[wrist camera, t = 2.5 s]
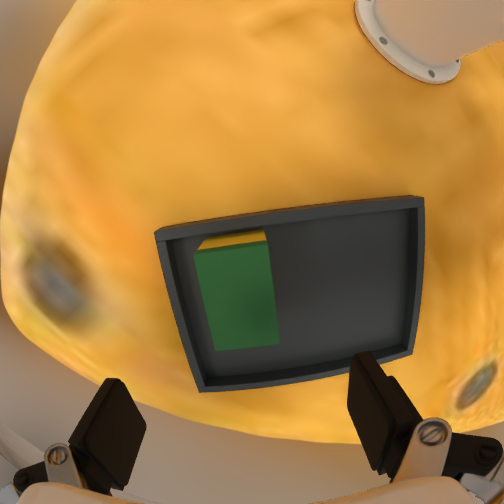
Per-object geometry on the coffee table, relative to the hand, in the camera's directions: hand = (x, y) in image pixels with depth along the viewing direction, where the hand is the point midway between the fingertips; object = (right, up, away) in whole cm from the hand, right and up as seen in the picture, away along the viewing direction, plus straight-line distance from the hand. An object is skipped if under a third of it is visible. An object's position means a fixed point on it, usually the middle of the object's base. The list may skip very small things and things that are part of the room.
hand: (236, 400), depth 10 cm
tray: (+5, +2, +13) cm, 15 cm away
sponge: (0, +4, +12) cm, 13 cm away
